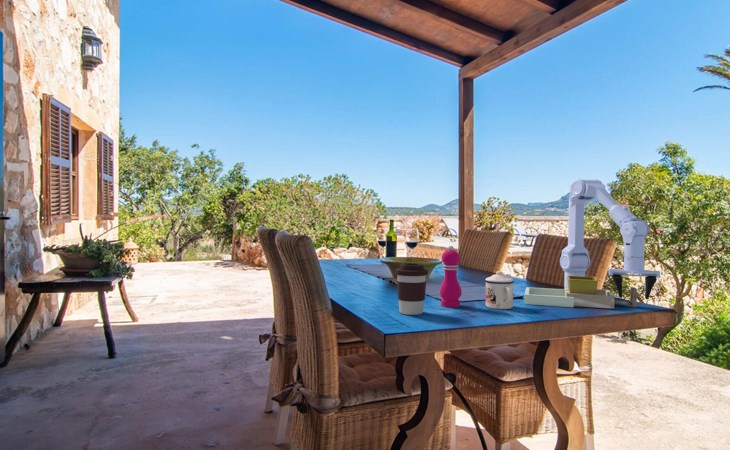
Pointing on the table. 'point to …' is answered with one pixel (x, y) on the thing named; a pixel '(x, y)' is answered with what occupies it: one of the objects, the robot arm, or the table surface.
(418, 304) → the coffee cup
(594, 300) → the carrier frame
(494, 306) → the teacup with lid
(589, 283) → the flower pot
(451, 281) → the pepper mill
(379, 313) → the table surface
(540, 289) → the tray
